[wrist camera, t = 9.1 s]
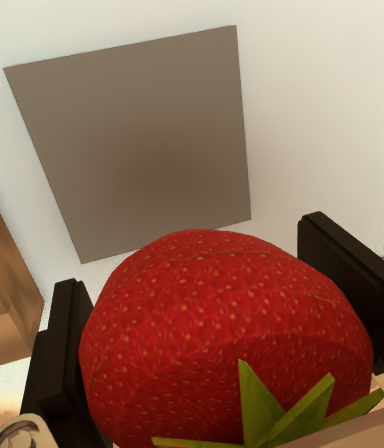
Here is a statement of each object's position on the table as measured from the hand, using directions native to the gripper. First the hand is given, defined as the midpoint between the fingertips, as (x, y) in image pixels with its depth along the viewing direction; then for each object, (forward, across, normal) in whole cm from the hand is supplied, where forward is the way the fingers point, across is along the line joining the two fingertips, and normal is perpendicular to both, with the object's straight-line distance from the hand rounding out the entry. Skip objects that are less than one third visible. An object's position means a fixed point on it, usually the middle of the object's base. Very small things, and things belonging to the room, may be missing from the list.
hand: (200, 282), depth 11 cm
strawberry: (+2, 0, 0) cm, 2 cm away
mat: (+15, 0, 0) cm, 15 cm away
